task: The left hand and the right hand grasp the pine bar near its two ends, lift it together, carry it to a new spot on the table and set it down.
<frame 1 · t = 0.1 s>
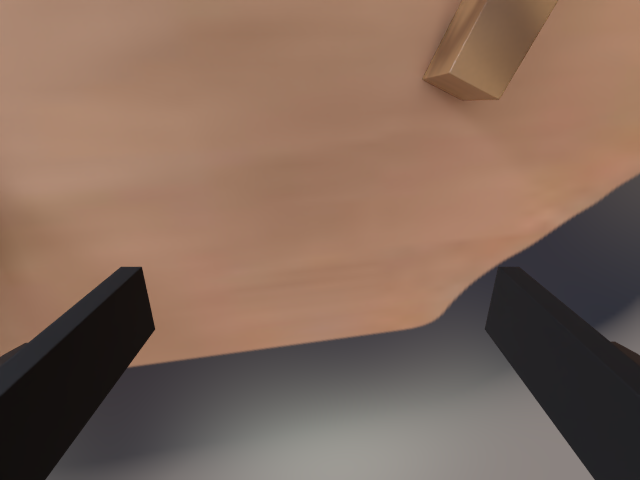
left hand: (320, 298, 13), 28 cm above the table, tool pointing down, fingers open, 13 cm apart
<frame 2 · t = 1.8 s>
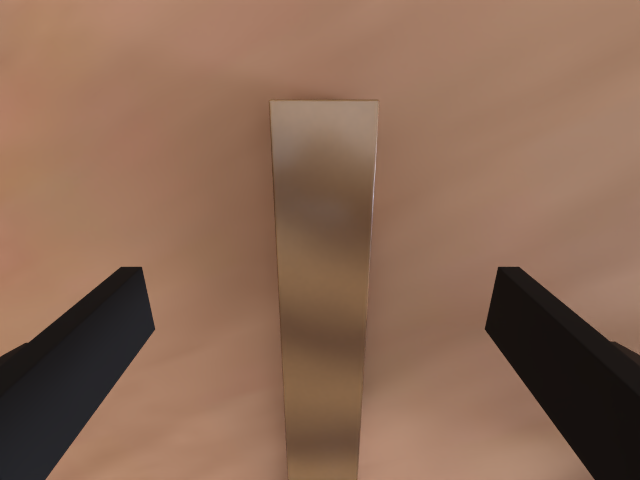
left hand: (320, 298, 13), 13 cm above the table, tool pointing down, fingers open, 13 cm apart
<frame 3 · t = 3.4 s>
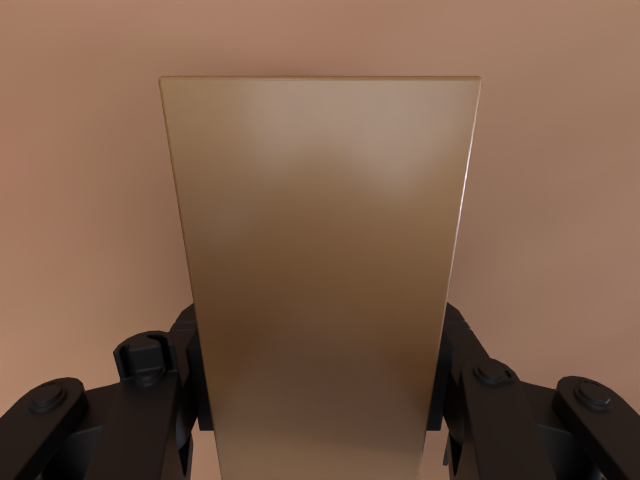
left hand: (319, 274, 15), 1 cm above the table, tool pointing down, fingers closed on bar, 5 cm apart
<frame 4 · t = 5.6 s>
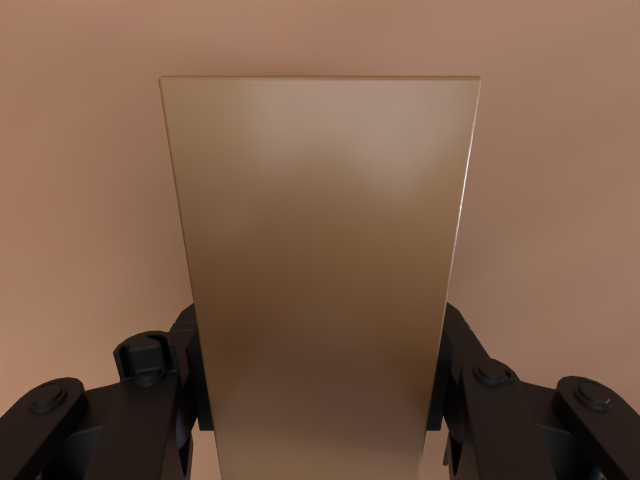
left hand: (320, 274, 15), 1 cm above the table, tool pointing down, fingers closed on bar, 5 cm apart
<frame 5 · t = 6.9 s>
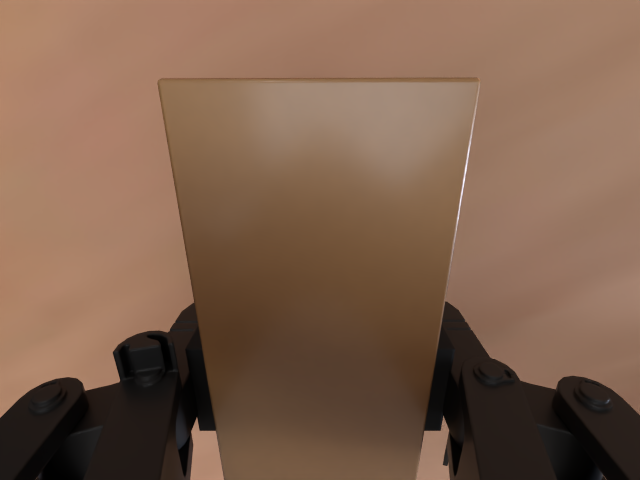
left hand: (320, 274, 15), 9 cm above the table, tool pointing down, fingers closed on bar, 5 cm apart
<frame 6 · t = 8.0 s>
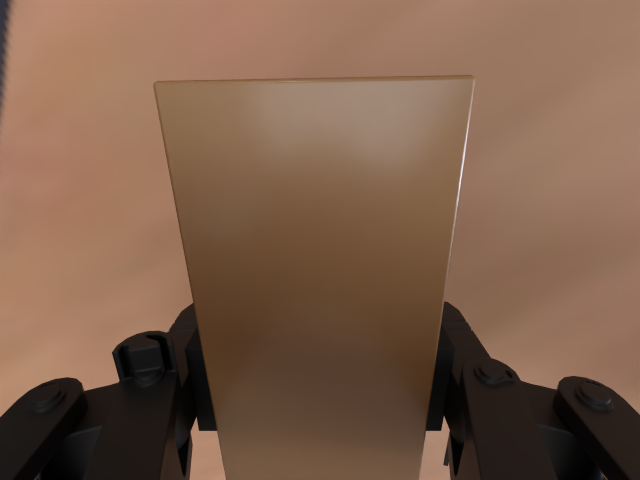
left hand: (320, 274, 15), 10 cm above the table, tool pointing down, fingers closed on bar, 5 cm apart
when the left hand's fingers open (2 cm above the table, at t = 10.4 s): bar stays where it is, on the table.
when the right hand's fingers open (3 cm above the table, at t = 10.5 s): bar stays where it is, on the table.
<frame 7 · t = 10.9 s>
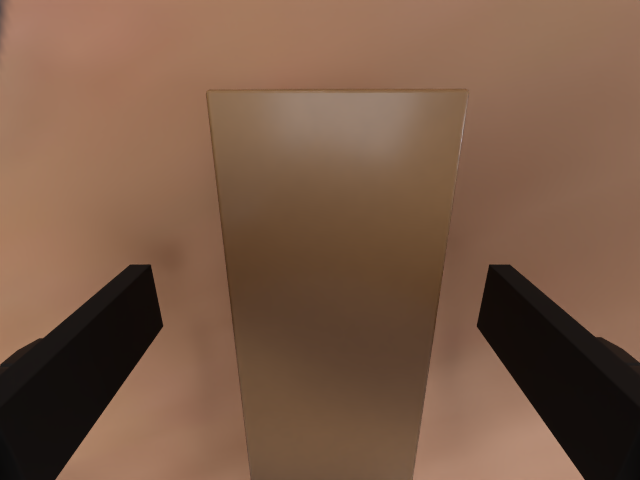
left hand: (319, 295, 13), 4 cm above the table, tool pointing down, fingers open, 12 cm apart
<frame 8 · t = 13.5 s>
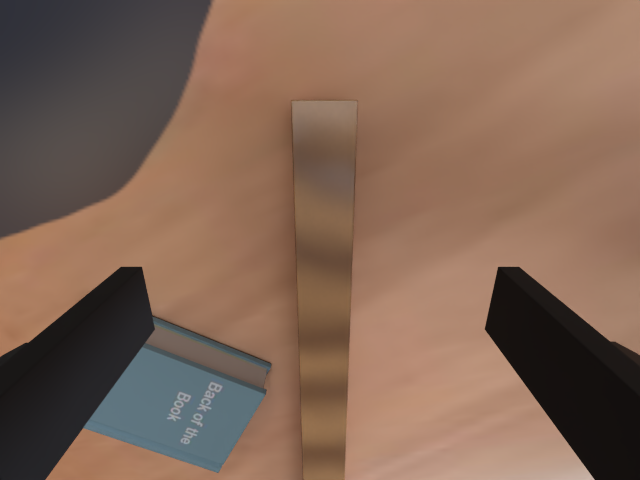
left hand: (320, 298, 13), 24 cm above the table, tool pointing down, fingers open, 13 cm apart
book: (168, 374, 45), on the table
bar: (323, 400, 47), on the table
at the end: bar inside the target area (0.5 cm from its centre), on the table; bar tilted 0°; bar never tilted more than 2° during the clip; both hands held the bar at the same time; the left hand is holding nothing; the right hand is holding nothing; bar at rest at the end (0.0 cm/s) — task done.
